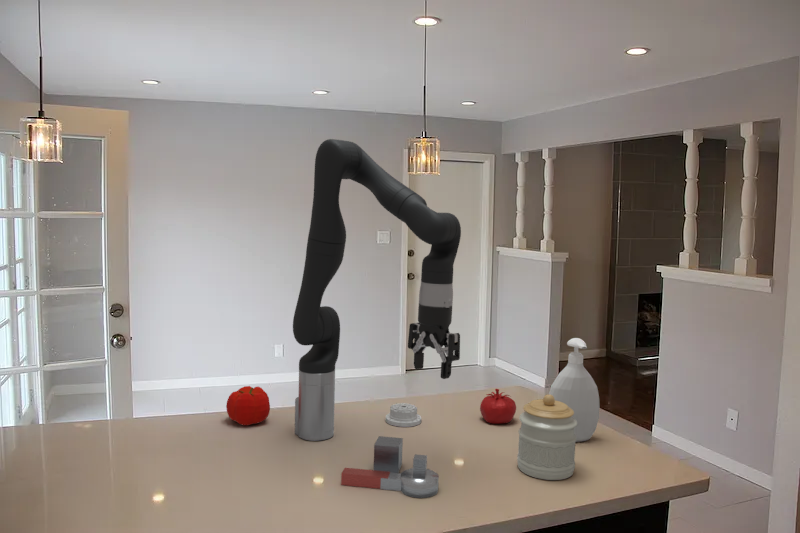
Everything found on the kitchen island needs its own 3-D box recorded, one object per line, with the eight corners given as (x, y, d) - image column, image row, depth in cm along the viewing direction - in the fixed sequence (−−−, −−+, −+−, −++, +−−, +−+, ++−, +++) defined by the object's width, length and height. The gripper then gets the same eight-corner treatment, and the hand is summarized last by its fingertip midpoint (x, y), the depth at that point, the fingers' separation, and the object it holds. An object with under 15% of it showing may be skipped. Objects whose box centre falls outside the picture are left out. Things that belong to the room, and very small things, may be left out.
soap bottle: (552, 447, 159) (557, 342, 156) (540, 435, 167) (545, 335, 164) (605, 445, 161) (612, 341, 159) (591, 434, 169) (597, 335, 167)
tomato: (235, 414, 177) (235, 382, 176) (276, 417, 175) (276, 385, 174) (219, 426, 166) (219, 393, 165) (262, 430, 165) (263, 396, 164)
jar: (576, 463, 149) (580, 390, 147) (572, 485, 137) (577, 406, 135) (521, 454, 153) (524, 384, 152) (512, 475, 141) (516, 398, 139)
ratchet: (439, 483, 136) (440, 451, 135) (436, 499, 128) (437, 466, 127) (347, 474, 139) (347, 443, 138) (338, 490, 131) (339, 457, 130)
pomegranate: (517, 428, 173) (520, 395, 172) (481, 426, 173) (483, 393, 172) (511, 415, 183) (514, 384, 182) (477, 413, 183) (479, 382, 182)
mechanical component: (381, 426, 171) (417, 429, 169) (382, 410, 171) (418, 413, 169) (389, 414, 181) (423, 417, 179) (390, 399, 181) (424, 402, 179)
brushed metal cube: (373, 471, 141) (374, 444, 140) (378, 462, 146) (378, 436, 146) (398, 474, 140) (399, 447, 139) (401, 464, 145) (402, 438, 145)
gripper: (401, 298, 143) (398, 368, 144) (446, 309, 132) (442, 384, 134) (425, 296, 148) (422, 364, 149) (470, 306, 137) (466, 378, 139)
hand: (431, 373), depth 142 cm, fingers open, 8 cm apart
